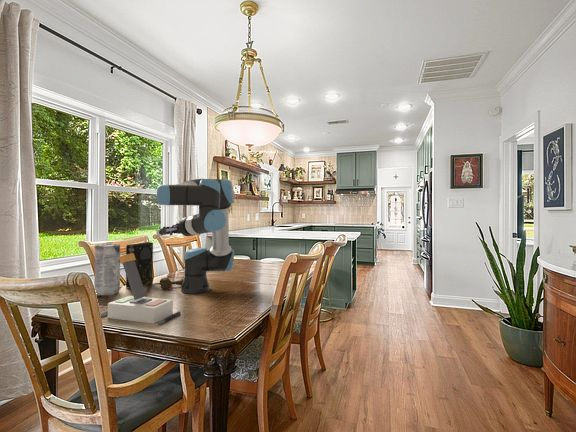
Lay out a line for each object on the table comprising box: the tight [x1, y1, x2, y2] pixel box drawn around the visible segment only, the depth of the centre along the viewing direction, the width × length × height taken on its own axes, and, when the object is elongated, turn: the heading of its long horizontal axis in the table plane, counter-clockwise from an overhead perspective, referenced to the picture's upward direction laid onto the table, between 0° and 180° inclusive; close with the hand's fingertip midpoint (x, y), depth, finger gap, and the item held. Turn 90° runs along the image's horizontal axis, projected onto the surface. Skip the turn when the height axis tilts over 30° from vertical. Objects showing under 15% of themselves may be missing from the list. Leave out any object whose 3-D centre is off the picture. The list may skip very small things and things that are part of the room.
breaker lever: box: [119, 253, 147, 300], centre depth 131 cm, size 2×6×19 cm, turn 165°
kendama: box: [153, 276, 184, 291], centre depth 180 cm, size 6×10×20 cm
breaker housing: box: [107, 295, 174, 324], centre depth 130 cm, size 22×12×7 cm, turn 75°
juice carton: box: [94, 241, 121, 296], centre depth 164 cm, size 9×10×27 cm
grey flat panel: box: [100, 310, 181, 326], centre depth 131 cm, size 29×13×1 cm, turn 75°
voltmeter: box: [125, 241, 154, 289], centre depth 182 cm, size 16×9×25 cm, turn 168°
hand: (158, 233), depth 134 cm, fingers closed
